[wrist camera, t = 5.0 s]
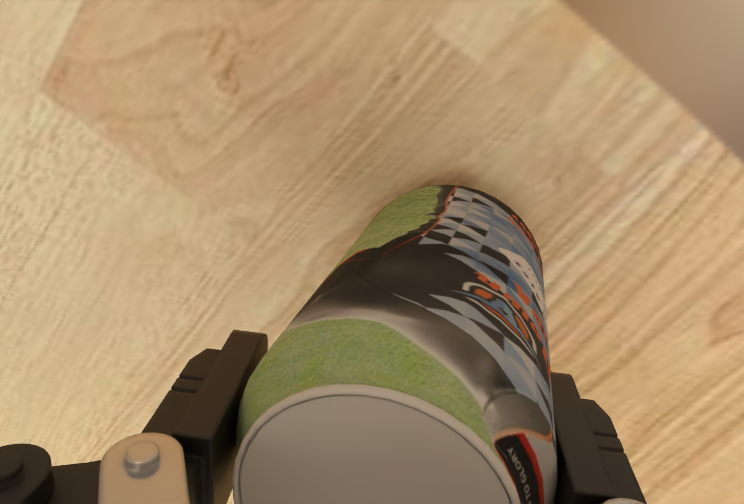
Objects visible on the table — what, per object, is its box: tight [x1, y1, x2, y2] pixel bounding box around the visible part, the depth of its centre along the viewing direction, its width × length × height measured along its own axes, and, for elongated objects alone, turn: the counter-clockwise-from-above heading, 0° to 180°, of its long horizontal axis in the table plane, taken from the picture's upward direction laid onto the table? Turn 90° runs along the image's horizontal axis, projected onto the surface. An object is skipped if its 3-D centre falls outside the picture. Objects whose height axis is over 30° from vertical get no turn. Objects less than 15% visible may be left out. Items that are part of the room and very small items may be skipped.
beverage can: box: [232, 185, 558, 504], centre depth 15 cm, size 6×7×12 cm
